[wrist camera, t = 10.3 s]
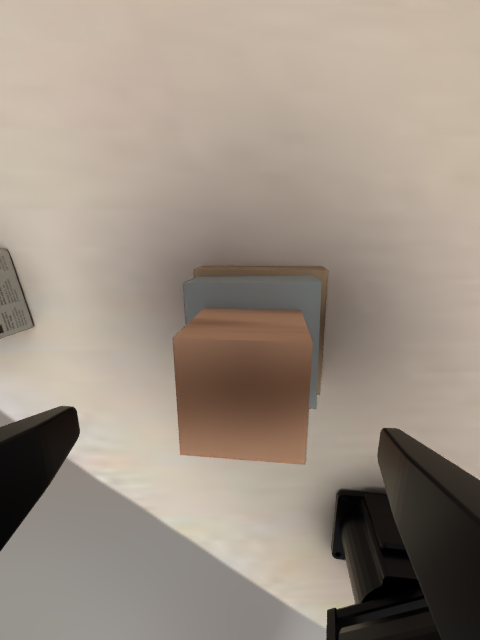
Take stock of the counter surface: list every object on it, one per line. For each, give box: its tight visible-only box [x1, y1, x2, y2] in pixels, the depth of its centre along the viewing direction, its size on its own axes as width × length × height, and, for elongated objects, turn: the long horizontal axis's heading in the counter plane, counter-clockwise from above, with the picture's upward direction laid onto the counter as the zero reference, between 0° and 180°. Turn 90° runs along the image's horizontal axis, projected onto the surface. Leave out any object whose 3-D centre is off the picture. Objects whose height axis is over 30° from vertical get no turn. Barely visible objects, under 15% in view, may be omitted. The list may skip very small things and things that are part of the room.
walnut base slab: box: [194, 266, 328, 395], centre depth 20 cm, size 8×8×3 cm
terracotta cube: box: [173, 308, 313, 464], centre depth 14 cm, size 5×5×5 cm
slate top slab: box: [183, 275, 321, 409], centre depth 18 cm, size 7×7×3 cm
